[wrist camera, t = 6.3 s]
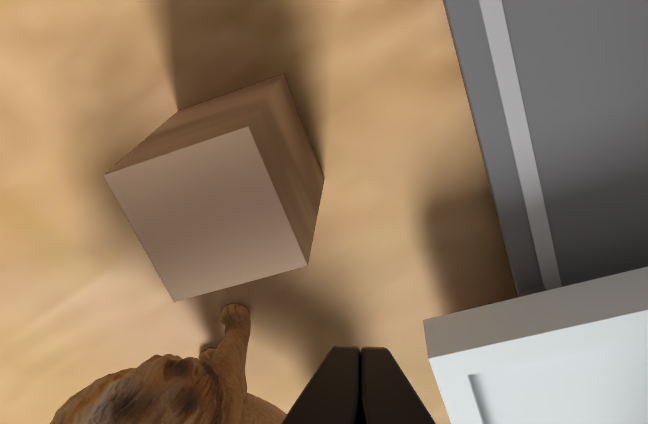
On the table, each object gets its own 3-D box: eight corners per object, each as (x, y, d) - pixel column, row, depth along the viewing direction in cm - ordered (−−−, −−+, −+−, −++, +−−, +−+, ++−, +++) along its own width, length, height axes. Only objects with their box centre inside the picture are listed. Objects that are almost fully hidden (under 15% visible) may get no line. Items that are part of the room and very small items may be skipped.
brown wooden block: (324, 179, 20) (307, 265, 14) (224, 209, 21) (174, 302, 15) (283, 73, 18) (248, 126, 13) (178, 110, 19) (102, 175, 14)
